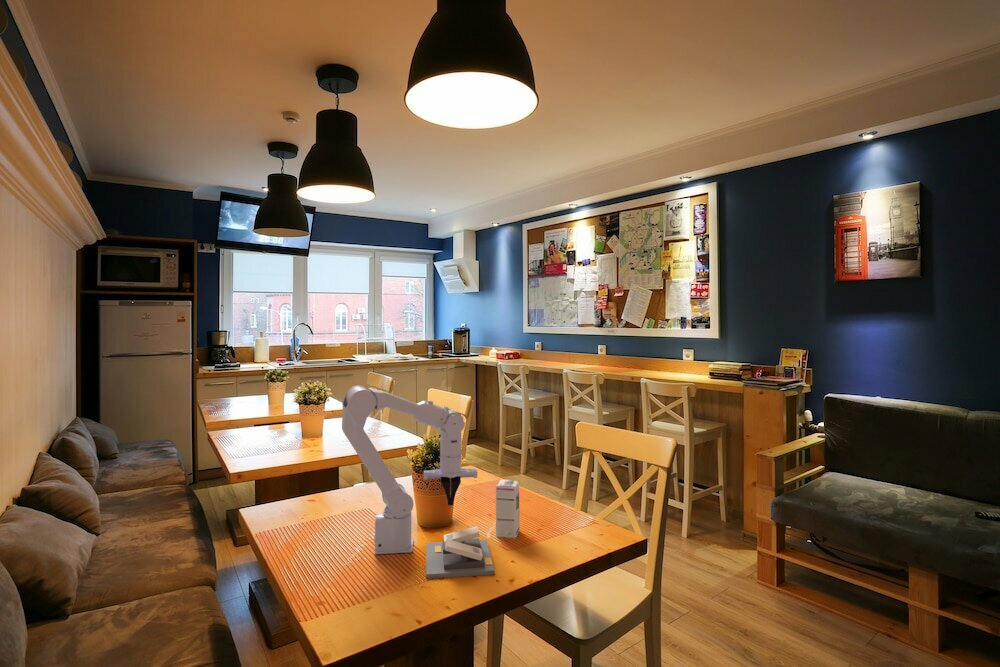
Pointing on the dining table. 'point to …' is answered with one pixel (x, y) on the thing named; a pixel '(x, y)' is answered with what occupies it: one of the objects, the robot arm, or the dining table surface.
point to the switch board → (457, 561)
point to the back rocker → (463, 534)
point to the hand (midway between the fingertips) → (450, 504)
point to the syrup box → (507, 508)
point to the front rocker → (463, 549)
